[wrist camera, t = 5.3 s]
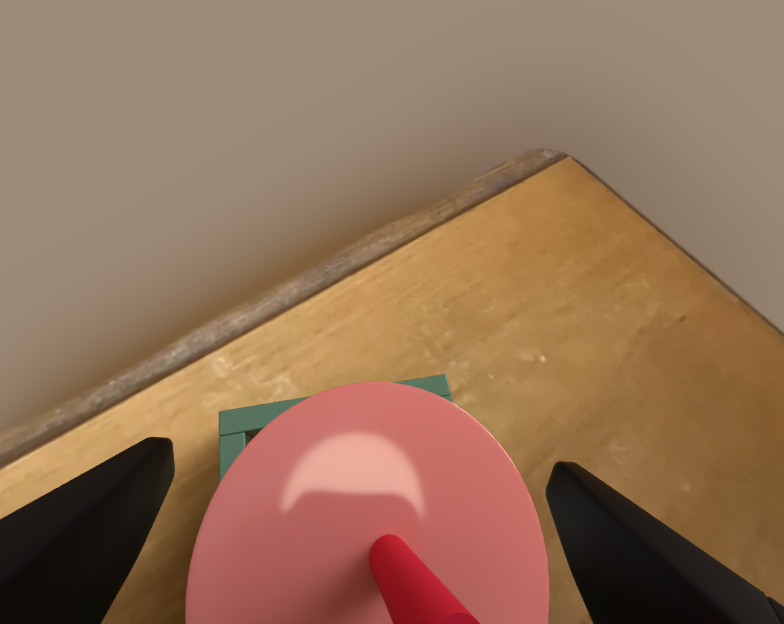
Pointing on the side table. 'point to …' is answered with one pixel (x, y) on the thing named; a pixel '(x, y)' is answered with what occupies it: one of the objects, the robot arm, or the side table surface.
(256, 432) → the holder
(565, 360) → the side table surface
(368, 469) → the cup
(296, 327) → the side table surface
